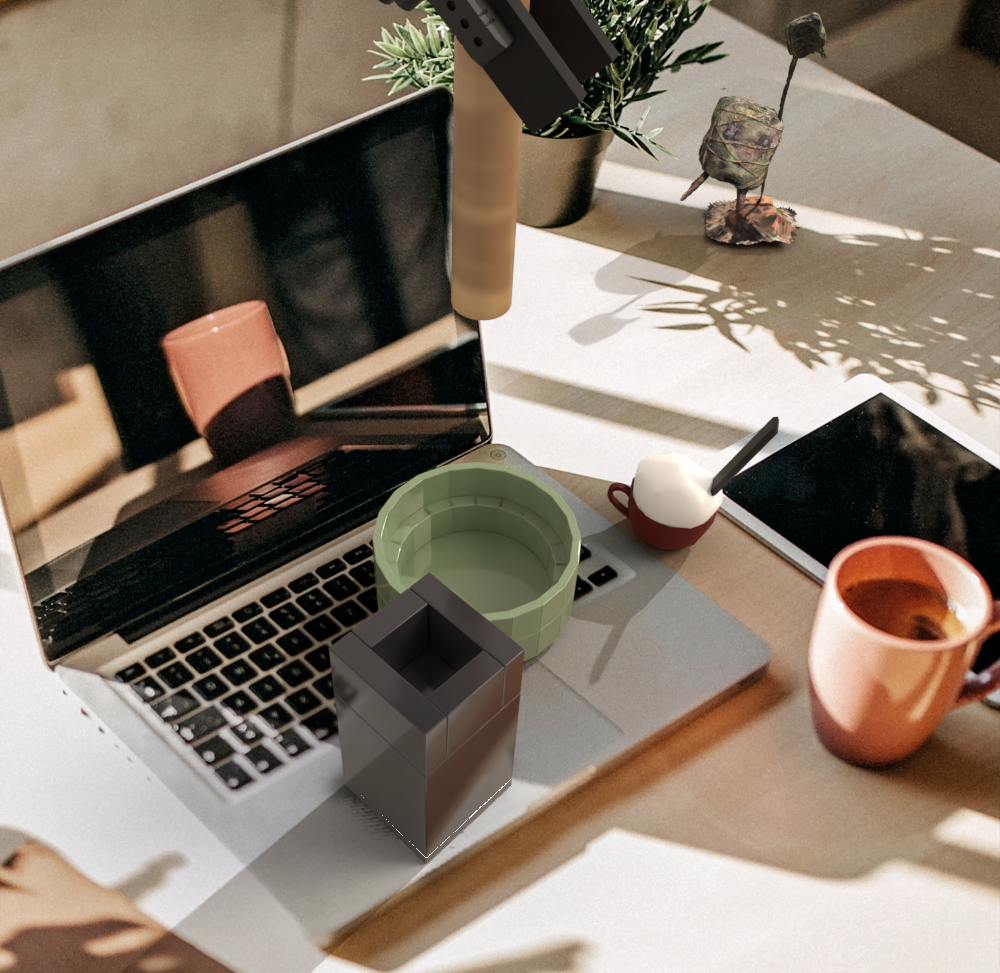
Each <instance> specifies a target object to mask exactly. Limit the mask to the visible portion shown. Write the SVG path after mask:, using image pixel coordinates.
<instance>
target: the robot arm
mask: <svg viewBox="0 0 1000 973" xmlns="http://www.w3.org/2000/svg"><path fill="white" fill-rule="evenodd" d="M424 1H426V2H427V3H429V4H430V6H431V7H432V8H433V9H434V11H435V12H436V13H437V15H438V17H440V19H441V21H443V23H444V24H445V26H446V27H447V28H448V29H449V31H450V32H451V33H452V35H453V37H454V36H456V39H457V40H458V41H459V43H460V44H461V45H463V48H464V49H465V51H466V52H467V53H468V55H469V56H470V57H471V59H472V60H474V61H475V62H476V63H477V64H478V65H480V66H481V67H482V68H483V69H484V71H485V72H486V73H487V75H488V76H489V77H490V79H491V80H492V81H493V83H494V84H495V85H496V87H497V88H498V89H499V91H500V92H501V93H502V95H503V96H504V97H505V99H506V100H507V101H508V103H509V104H510V105H511V107H512V108H513V109H514V111H515V112H516V113H517V115H518V116H519V118H520V119H521V120H522V122H523V125H525V127H526V128H527V130H528V131H529V132H530V133H531V135H534V134H536V133H538V132H539V131H540V130H542V129H544V128H545V127H547V125H549V124H550V123H553V121H555V120H557V119H558V118H559V117H561V116H563V115H565V114H566V113H567V112H569V111H570V110H572V109H573V108H575V107H576V106H577V105H580V104H581V103H582V102H583V100H584V99H585V98H586V96H587V95H588V92H587V91H586V90H585V89H584V87H583V86H582V84H583V83H584V82H586V81H587V80H589V79H590V78H591V77H594V75H596V74H597V73H599V72H600V71H602V70H604V69H605V68H606V67H607V66H609V65H611V64H612V63H613V62H614V61H615V60H616V59H617V58H618V57H619V55H620V53H619V52H618V50H617V48H616V47H615V46H614V44H613V43H612V42H611V40H610V38H609V37H608V36H607V34H606V33H605V31H604V30H603V28H602V27H601V25H600V24H599V23H598V21H597V20H596V18H595V17H594V15H593V14H592V12H591V11H590V10H589V8H588V7H587V5H586V4H585V2H584V1H583V0H530V9H529V12H528V10H527V9H526V8H525V6H524V5H523V3H522V2H521V1H520V0H378V2H379V3H381V4H383V5H389V6H390V5H392V4H394V3H395V4H396V6H397V7H398V8H400V9H401V10H403V11H405V12H412V11H413V10H415V9H416V8H418V6H419V5H420V4H422V2H424Z"/></svg>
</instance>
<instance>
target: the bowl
mask: <svg viewBox="0 0 1000 973" xmlns="http://www.w3.org/2000/svg"><path fill="white" fill-rule="evenodd" d="M376 517H377V518H376V521H375V524H374V528H373V532H372V537H371V539H372V554H373V556H372V557H373V571H374V572H373V573H374V588H375V596H376V603H377V611H379V610H380V609H381V608H383V607H384V606H385V605H387V604H388V603H389V602H391V601H392V600H393V599H395V598H396V597H397V596H399V595H400V594H401V593H402V592H404V591H405V590H406V589H408V588H410V586H412V585H413V584H414V583H416V582H417V581H418V580H420V579H421V578H422V577H424V576H425V575H426V574H428V573H431V574H432V575H434V576H435V577H436V578H437V579H438V580H440V581H441V582H442V583H443V584H445V585H446V586H447V587H448V588H450V589H451V590H452V591H453V592H454V593H456V594H457V595H458V596H459V597H461V598H462V599H463V600H464V601H466V602H467V603H468V604H469V605H471V606H472V607H473V608H474V609H475V610H477V611H478V612H479V613H480V614H482V615H483V616H484V617H485V618H487V619H488V620H489V621H490V622H491V623H493V624H494V625H495V626H496V627H498V628H499V629H500V630H501V631H503V632H504V633H505V634H506V635H507V636H509V637H510V638H511V639H512V640H514V641H515V642H516V643H517V644H519V645H520V646H521V647H522V648H524V650H525V654H524V662H526V661H528V660H531V659H533V658H535V657H537V656H538V655H540V653H542V652H543V651H544V650H546V649H547V648H548V647H549V646H550V645H551V644H552V643H554V642H555V641H556V640H557V639H558V638H559V637H560V636H561V634H562V632H563V630H564V628H565V627H566V625H567V623H568V621H569V619H570V617H571V615H572V613H573V605H574V599H575V591H576V584H577V578H578V573H579V572H578V571H579V565H580V558H581V548H582V547H581V546H582V535H581V532H580V529H579V526H578V522H577V518H576V515H575V513H574V512H573V510H572V509H571V508H570V506H569V505H568V504H567V503H566V501H565V500H564V498H563V497H562V496H561V494H559V492H557V491H556V490H555V489H553V488H552V487H550V486H549V485H548V484H546V483H545V482H544V481H542V480H541V479H539V478H538V477H537V476H535V475H533V474H529V473H527V472H524V471H522V470H519V469H517V468H514V467H512V466H509V465H508V466H507V465H504V464H495V463H488V462H480V461H472V462H471V461H470V462H461V463H452V464H451V463H450V464H446V465H442V466H439V467H436V468H434V469H431V470H428V471H425V472H422V473H419V474H417V475H415V476H414V477H413V478H411V479H409V480H408V481H407V482H405V484H403V485H400V487H398V488H397V489H396V490H394V491H393V493H392V494H391V495H390V497H389V498H388V499H387V501H385V503H384V505H383V506H382V507H381V508H380V510H379V512H378V514H377V516H376Z"/></svg>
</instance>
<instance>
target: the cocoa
mask: <svg viewBox="0 0 1000 973" xmlns="http://www.w3.org/2000/svg"><path fill="white" fill-rule="evenodd" d="M779 426H780V418H779V416H772V417H771V418H770V419H769V420H768V421H767V422H766V423H765V424H764V425H763V426H762V427H761V428H760V429H759V431H757V433H756V434H755V435H754V436H753V437H752V438H751V439H750V440H749V441H747V443H746V444H745V445H744V446H743V447H741V449H740V450H739V451H738V452H737V453H736V454H735V455H734V456H733V457H732V459H730V460H729V461H728V462H727V463H726V464H725V466H723V467H722V468H721V470H719V471H718V472H717V473H716V474H714V473H713V472H711V471H709V470H708V469H706V468H704V467H702V466H701V465H699V464H698V463H697V462H695V461H693V460H691V459H690V458H689V457H687V456H685V455H684V454H682V453H680V452H678V451H677V450H674V451H668V452H667V451H666V452H661V453H655V454H649V455H648V456H646V457H644V458H642V459H640V460H639V462H638V465H637V468H636V472H635V476H634V477H633V478H632V480H631V483H630V486H629V485H628V484H625V483H623V482H612V483H611V484H609V487H608V489H607V492H606V496H607V499H608V501H609V503H610V504H611V505H612V506H613V507H614V509H615V510H617V511H618V512H619V513H620V514H622V515H623V516H624V517H625V518H627V519H629V522H630V524H631V526H632V529H633V531H634V532H635V534H636V535H637V536H638V537H640V538H641V540H643V541H644V542H645V543H646V544H647V545H650V546H652V547H654V548H657V549H659V550H663V551H679V550H683V549H686V548H689V547H691V546H694V545H695V544H697V542H698V541H699V540H700V539H701V538H702V537H703V535H705V533H706V532H707V531H708V530H709V529H710V527H712V525H713V523H714V521H715V519H716V517H717V515H718V511H719V508H720V506H721V504H722V503H723V501H724V493H723V489H724V488H725V487H726V486H727V485H728V484H729V483H730V482H731V481H732V479H734V478H735V477H736V476H737V475H738V474H739V473H740V472H741V471H742V469H744V468H745V467H746V466H747V465H748V464H749V463H750V462H751V461H752V460H753V459H754V458H755V457H756V456H757V455H758V454H759V452H761V451H762V450H763V449H764V448H765V447H766V446H767V445H768V444H769V443H770V441H772V440H773V439H774V438H775V437H776V436H777V435H778V433H779ZM617 491H618V492H622V493H624V494H625V495H626V496H627V497H628V499H627V506H625V505H624V504H623V503H622V502H621V501H620V500H619V499H618V498H617V497H616V496H615V494H614V492H617Z"/></svg>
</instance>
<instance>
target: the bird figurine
mask: <svg viewBox="0 0 1000 973" xmlns="http://www.w3.org/2000/svg"><path fill="white" fill-rule="evenodd" d="M784 35H785V36H784V37H785V39H786V40H785V42H786V50H787V52H788V54H789V56H792V58H791V61H790V63H789V66H788V72H787V77H786V79H785V85H784V86H783V90H782V93H781V94H782V95H781V97H780V102H779V109H778V112H777V110H776V109H775V108H773V107H769V106H766V105H764V104H763V103H760V102H757V101H754V100H750V99H747V98H746V97H743V96H740V95H725V96H721V97H720V98H719V99H718V101H717V103H716V105H715V107H714V109H713V111H712V115H711V119H710V126H709V128H708V130H707V132H706V133H705V134H704V136H703V138H702V143H701V144H700V145H699V146H700V147H699V149H698V161H699V163H700V165H701V171H703V172H702V173H701V174H700V175H699V176H698V177H697V178H696V179H695V180H694V181H692V183H690V186H689V188H688V189H687V190H686V191H685V192H684V193H683V194H682V195H681V197H680V199H679V201H680V202H684V201H686V199H688V198H689V197H690V196H691V195H692V194H693V193H694V192H695V191H697V190H698V188H700V187H701V186H702V185H703V184H704V183H705V181H707V180H708V179H709V178H710V179H715V180H716V181H718V182H723V183H727V184H729V185H732V186H733V187H734V188H735V189H736V198H735V199H732V200H730V199H729V200H727V201H726V200H725V199H723V200H720V199H719V200H718V201H714V202H709V205H707V207H705V210H706V211H705V213H706V214H705V216H706V220H705V223H706V224H705V225H704V226H705V229H706V231H705V233H706V234H707V237H710V239H712V240H715V241H717V242H719V243H722V242H723V243H727V244H736V245H741V244H743V245H745V246H748V245H749V246H751V245H754V244H758V243H761V242H762V241H764V242H767V243H772V242H774V241H778V242H782V243H785V244H787V245H790V244H791V243H792V242H793V241H795V240H796V238H794V237H797V234H796V231H798V230H800V229H801V227H799V226H797V224H796V223H798V221H797V219H796V217H797V215H798V213H797V212H796V211H795V210H794V209H793V208H791V207H790V206H789V207H788V208H787V207H784V206H779V207H776V206H775V205H774V200H773V199H772V197H771V196H766V195H763V194H764V190H765V184H766V180H767V177H768V172H769V166H770V164H771V163H772V160H773V157H774V156H775V154H776V151H777V149H778V147H779V146H780V144H781V143H782V141H783V132H784V128H785V126H784V118H783V115H784V107H785V105H786V104H785V103H786V99H787V95H788V92H789V88H790V84H791V80H792V79H793V76H794V73H795V70H796V67H797V65H798V62H799V61H798V60H803V59H805V58H806V57H808V56H810V55H814V54H815V53H817V54H820V58H821V59H823V60H827V59H828V55H827V53H826V50H825V49H824V47H825V46H826V45H827V43H828V41H827V38H828V37H827V33H826V29H825V27H824V24H823V21H822V18H821V16H820V14H818V12H815V11H813V12H811V13H808V14H805V15H803V16H799V17H796V18H794V19H793V20H792V21H790V22H789V23H787V24H786V26H785V27H784ZM726 89H727V88H726V87H722V88H721V90H722V91H725V90H726ZM759 188H760V195H753V196H750V195H749V196H747V194H748V193H749V191H755V190H757V189H759Z"/></svg>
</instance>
